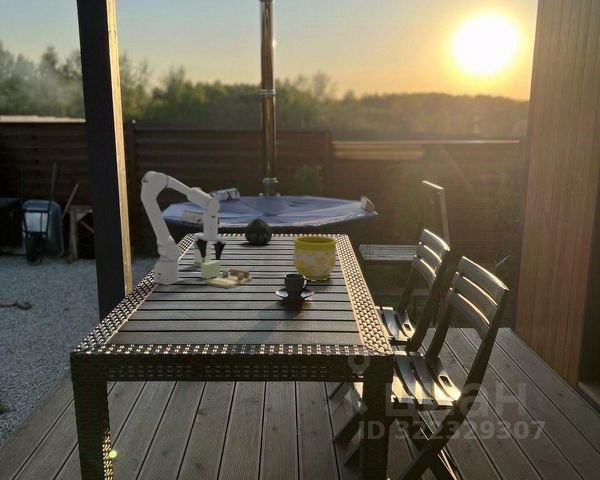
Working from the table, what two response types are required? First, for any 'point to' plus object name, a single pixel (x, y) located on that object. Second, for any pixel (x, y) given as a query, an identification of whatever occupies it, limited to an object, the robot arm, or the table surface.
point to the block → (210, 269)
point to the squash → (258, 232)
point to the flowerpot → (314, 256)
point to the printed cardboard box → (197, 255)
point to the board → (230, 278)
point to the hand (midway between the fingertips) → (210, 258)
